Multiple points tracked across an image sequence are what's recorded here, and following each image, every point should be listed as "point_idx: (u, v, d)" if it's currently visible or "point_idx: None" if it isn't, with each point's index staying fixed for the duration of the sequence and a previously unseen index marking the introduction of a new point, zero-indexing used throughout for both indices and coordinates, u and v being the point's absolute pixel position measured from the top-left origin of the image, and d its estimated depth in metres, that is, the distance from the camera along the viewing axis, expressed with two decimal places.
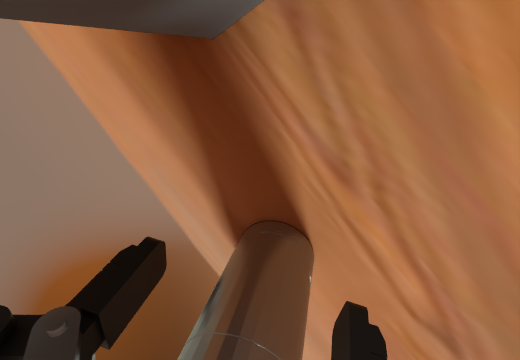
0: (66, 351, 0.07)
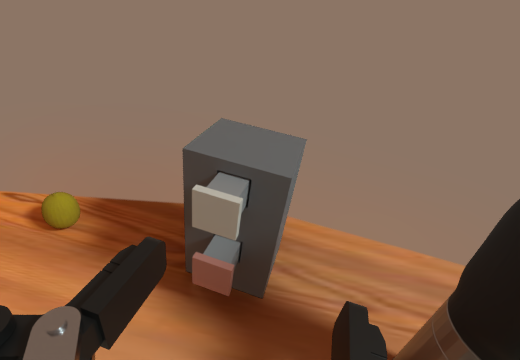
0: (66, 351, 0.07)
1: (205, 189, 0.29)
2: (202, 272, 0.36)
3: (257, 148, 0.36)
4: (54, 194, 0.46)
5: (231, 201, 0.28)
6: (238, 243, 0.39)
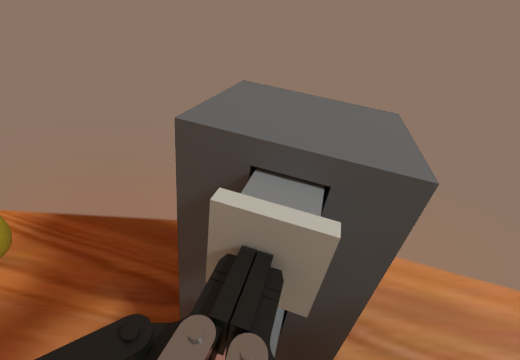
0: None
1: (242, 198, 0.12)
2: None
3: (326, 123, 0.18)
4: None
5: (316, 231, 0.11)
6: None
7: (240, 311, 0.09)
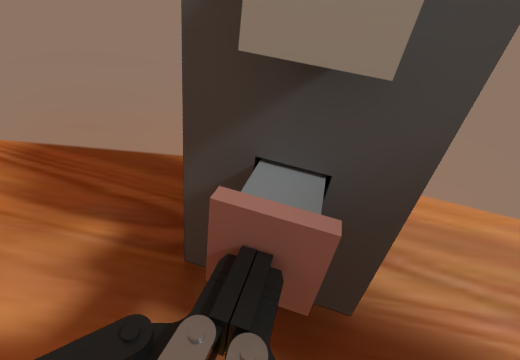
0: None
1: None
2: (238, 247, 0.12)
3: None
4: None
5: None
6: (321, 179, 0.15)
7: (240, 311, 0.09)
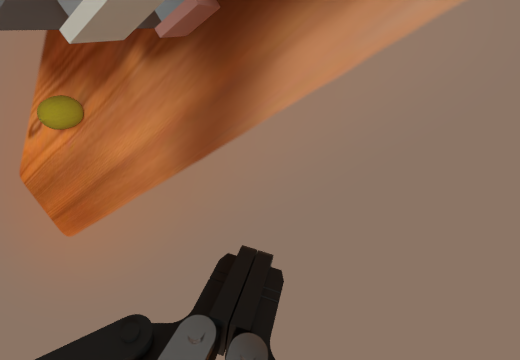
0: None
1: (71, 23, 0.18)
2: (181, 29, 0.29)
3: None
4: (41, 120, 0.43)
5: (106, 1, 0.17)
6: None
7: (240, 311, 0.09)
